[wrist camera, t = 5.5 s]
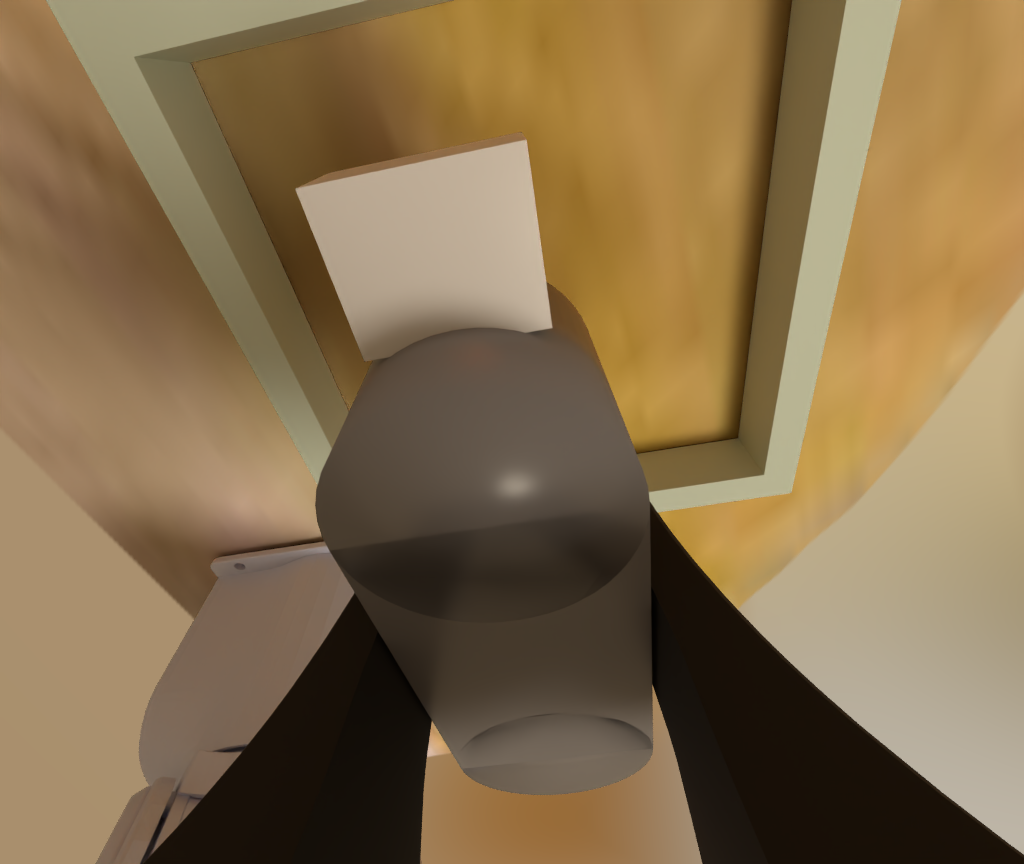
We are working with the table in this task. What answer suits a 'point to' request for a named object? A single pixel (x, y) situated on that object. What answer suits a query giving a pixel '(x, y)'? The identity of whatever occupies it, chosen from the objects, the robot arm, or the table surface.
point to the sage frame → (336, 3)
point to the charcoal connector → (486, 474)
